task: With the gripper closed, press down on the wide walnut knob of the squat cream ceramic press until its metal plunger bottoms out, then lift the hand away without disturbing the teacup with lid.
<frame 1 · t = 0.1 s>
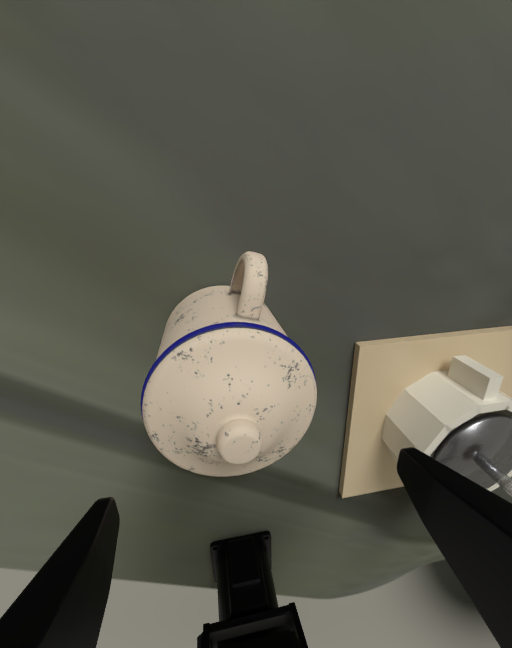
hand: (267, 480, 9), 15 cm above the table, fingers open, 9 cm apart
teacup with lid: (225, 320, 23), on the table
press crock: (428, 413, 30), on the table
plunger: (511, 487, 22), point 9 cm above the table, slide at 0.0 cm
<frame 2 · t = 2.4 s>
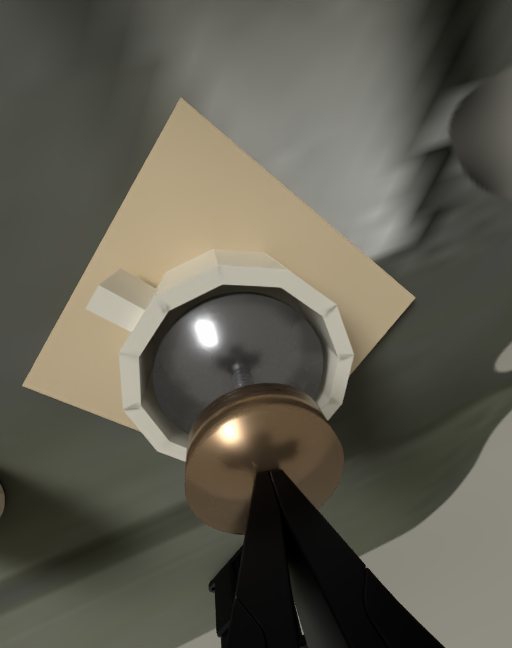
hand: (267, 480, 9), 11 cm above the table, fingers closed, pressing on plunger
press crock: (231, 333, 19), on the table
plunger: (251, 411, 12), point 8 cm above the table, slide at 0.6 cm, touching gripper
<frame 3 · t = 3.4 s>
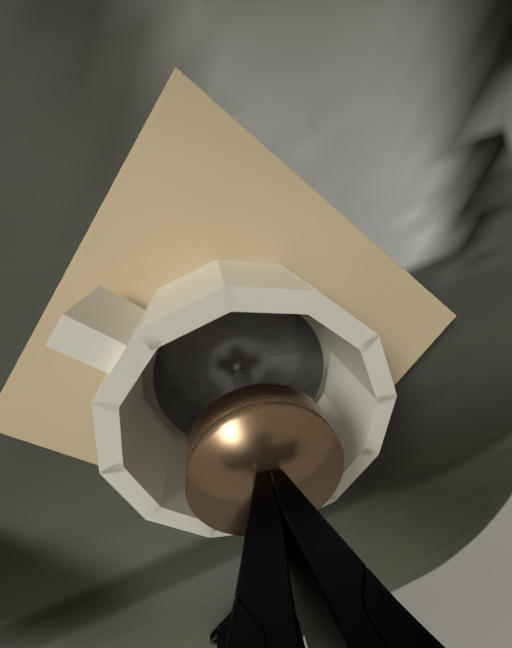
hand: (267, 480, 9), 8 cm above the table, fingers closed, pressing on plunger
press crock: (237, 359, 16), on the table
plunger: (251, 412, 12), point 5 cm above the table, slide at 4.1 cm, touching gripper, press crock
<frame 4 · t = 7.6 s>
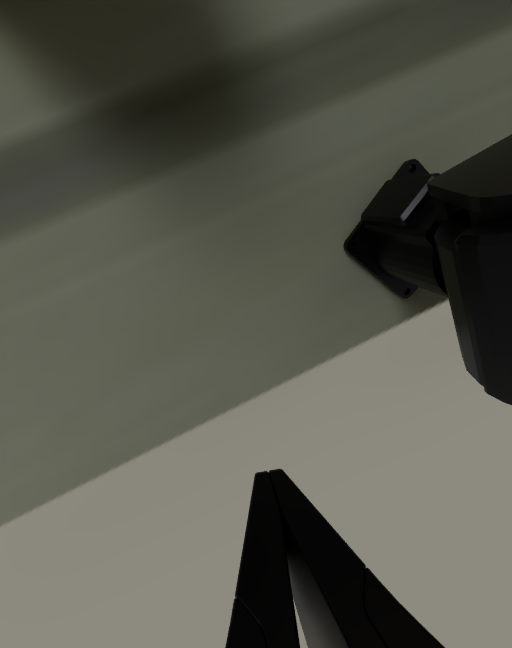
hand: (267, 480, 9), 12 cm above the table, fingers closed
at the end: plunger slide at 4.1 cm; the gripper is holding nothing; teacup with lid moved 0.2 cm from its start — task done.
